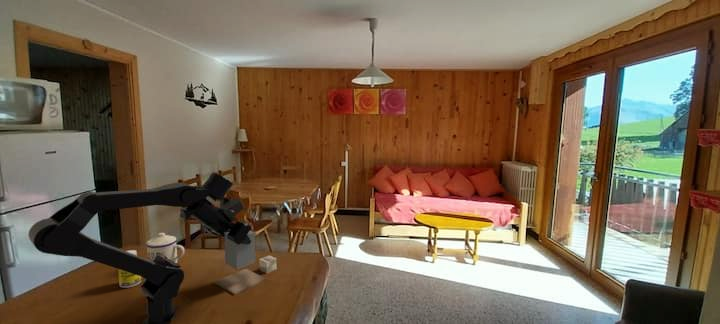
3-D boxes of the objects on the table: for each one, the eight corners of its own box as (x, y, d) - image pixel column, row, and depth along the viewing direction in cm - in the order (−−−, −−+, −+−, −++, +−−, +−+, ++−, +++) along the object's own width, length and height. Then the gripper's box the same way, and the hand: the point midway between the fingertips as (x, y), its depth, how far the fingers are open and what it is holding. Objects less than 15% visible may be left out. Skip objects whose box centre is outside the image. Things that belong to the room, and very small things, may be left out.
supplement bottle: (118, 290, 91) (115, 258, 90) (120, 282, 96) (117, 251, 94) (141, 285, 94) (139, 253, 93) (142, 277, 99) (140, 247, 98)
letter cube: (266, 273, 103) (266, 262, 102) (259, 270, 105) (259, 259, 105) (276, 269, 106) (276, 258, 106) (269, 266, 109) (269, 255, 108)
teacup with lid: (141, 271, 103) (139, 238, 102) (158, 259, 112) (156, 228, 111) (177, 271, 104) (175, 238, 102) (191, 259, 113) (189, 229, 111)
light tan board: (234, 295, 90) (234, 293, 90) (215, 283, 96) (214, 281, 96) (266, 280, 99) (265, 278, 98) (246, 270, 105) (245, 268, 105)
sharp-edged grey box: (236, 269, 92) (236, 237, 91) (225, 263, 96) (224, 233, 95) (255, 262, 97) (254, 232, 96) (243, 257, 101) (242, 227, 100)
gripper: (245, 196, 85) (277, 224, 95) (210, 187, 96) (242, 213, 106) (218, 230, 80) (255, 257, 90) (185, 217, 91) (221, 242, 101)
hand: (243, 240), depth 97 cm, fingers closed on sharp-edged grey box, 6 cm apart
